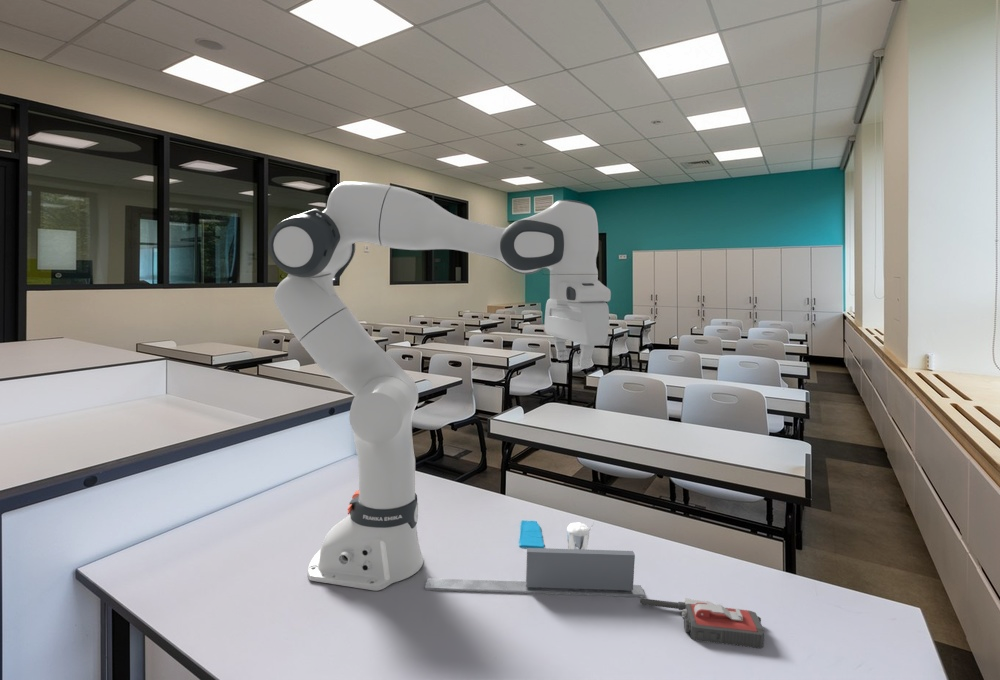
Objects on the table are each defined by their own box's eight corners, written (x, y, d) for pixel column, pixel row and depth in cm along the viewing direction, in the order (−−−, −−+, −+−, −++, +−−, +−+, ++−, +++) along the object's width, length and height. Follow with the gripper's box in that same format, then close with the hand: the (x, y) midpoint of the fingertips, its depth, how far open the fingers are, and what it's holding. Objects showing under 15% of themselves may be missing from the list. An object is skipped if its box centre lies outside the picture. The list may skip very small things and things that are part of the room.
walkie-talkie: (755, 618, 93) (639, 604, 96) (757, 594, 92) (640, 581, 95) (772, 652, 84) (644, 636, 87) (774, 627, 83) (645, 612, 87)
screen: (526, 586, 98) (527, 551, 98) (526, 582, 100) (526, 547, 99) (632, 590, 98) (634, 555, 97) (631, 585, 100) (633, 550, 99)
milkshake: (591, 575, 104) (593, 527, 103) (564, 571, 105) (566, 524, 104) (592, 562, 109) (594, 517, 107) (566, 559, 110) (568, 514, 109)
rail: (424, 590, 98) (424, 587, 98) (427, 580, 101) (427, 578, 101) (644, 597, 97) (644, 594, 97) (640, 587, 100) (640, 585, 100)
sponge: (545, 522, 126) (521, 517, 126) (545, 547, 114) (519, 542, 114) (544, 528, 126) (520, 523, 126) (544, 554, 114) (517, 549, 114)
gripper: (537, 289, 106) (536, 356, 108) (582, 292, 87) (581, 374, 88) (565, 288, 108) (564, 355, 110) (616, 291, 89) (614, 371, 90)
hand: (572, 363), depth 99 cm, fingers open, 8 cm apart
